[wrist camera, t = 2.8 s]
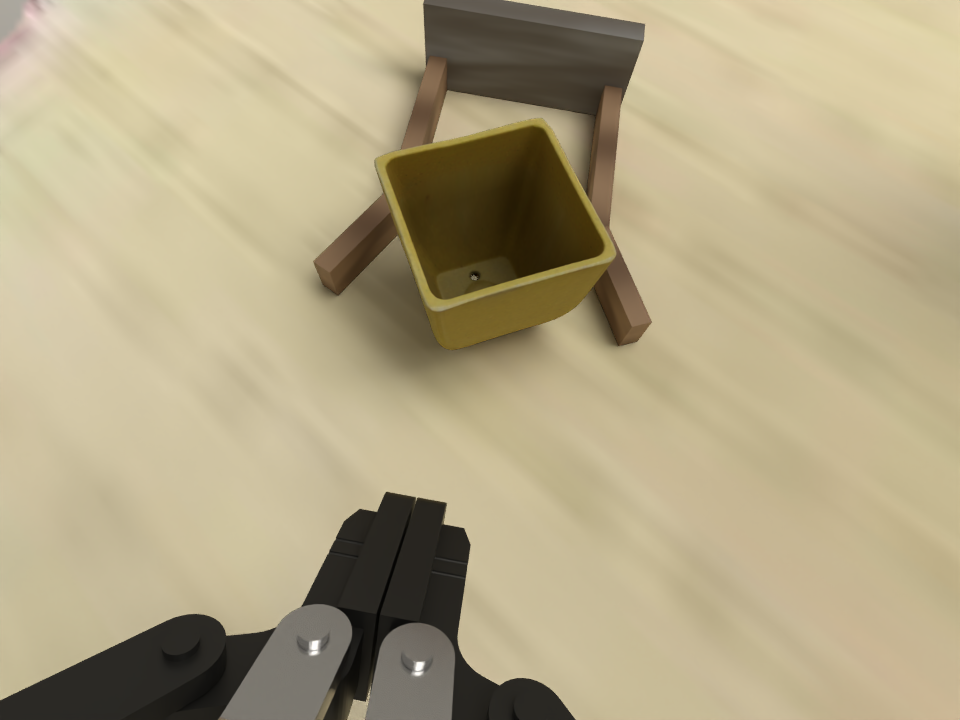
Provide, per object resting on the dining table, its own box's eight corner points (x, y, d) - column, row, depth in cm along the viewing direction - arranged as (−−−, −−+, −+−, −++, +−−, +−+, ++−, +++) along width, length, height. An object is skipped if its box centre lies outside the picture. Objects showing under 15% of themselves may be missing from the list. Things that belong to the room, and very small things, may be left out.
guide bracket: (636, 349, 31) (676, 298, 26) (320, 292, 32) (293, 230, 26) (651, 108, 39) (684, 30, 34) (398, 65, 40) (389, -19, 34)
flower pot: (433, 388, 30) (427, 311, 22) (390, 262, 33) (371, 153, 25) (576, 343, 31) (621, 256, 23) (522, 227, 35) (545, 114, 26)
